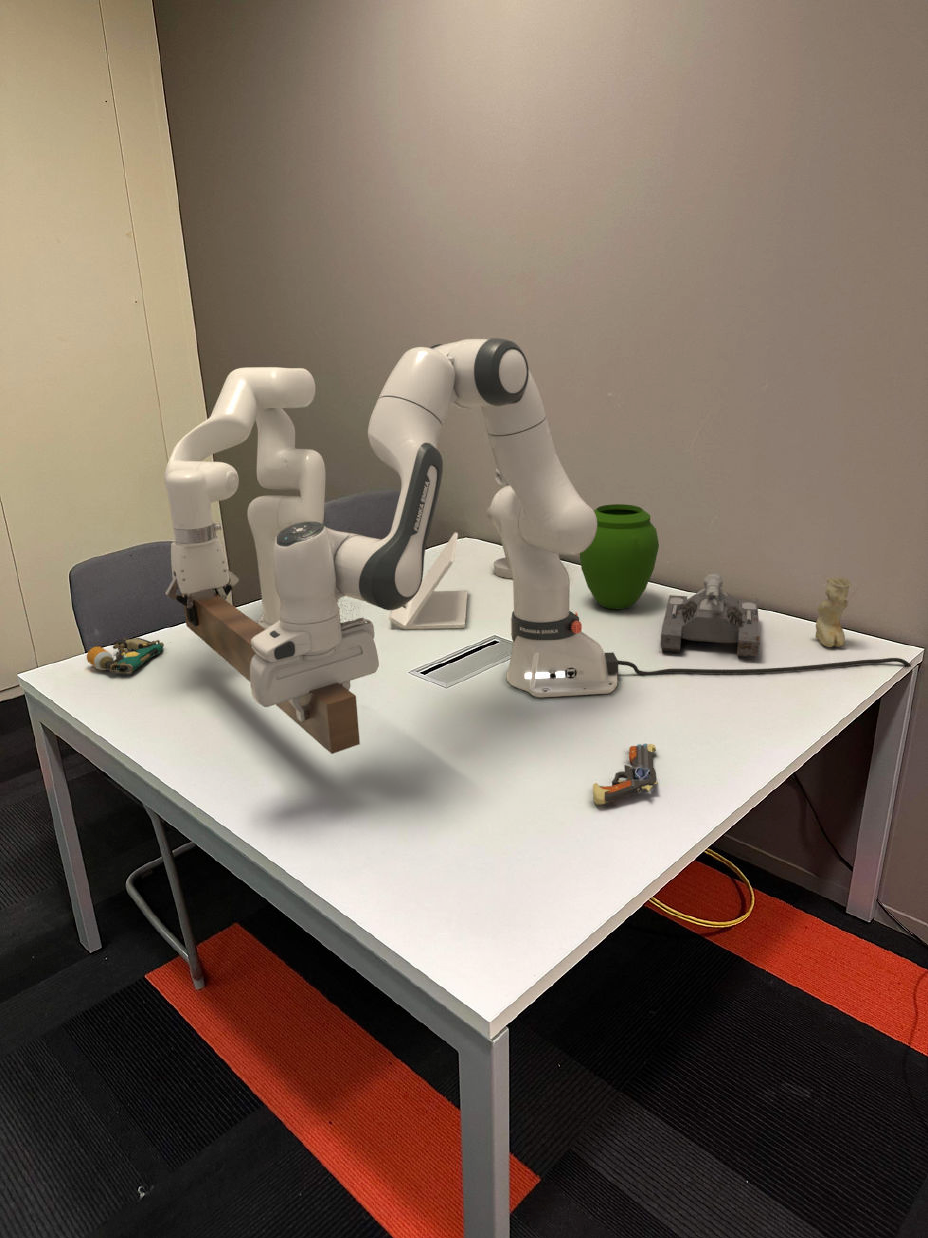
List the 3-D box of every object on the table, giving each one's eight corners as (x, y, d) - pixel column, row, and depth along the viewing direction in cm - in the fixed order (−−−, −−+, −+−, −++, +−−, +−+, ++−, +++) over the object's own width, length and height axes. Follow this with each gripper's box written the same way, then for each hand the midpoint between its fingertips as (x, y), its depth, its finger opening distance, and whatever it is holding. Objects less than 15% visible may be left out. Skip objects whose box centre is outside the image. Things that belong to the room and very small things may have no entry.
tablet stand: (467, 593, 225) (465, 531, 219) (465, 628, 202) (462, 559, 196) (399, 594, 226) (395, 532, 220) (388, 629, 203) (384, 560, 197)
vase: (599, 587, 227) (601, 497, 218) (668, 600, 216) (673, 505, 208) (562, 608, 212) (564, 513, 204) (634, 623, 202) (639, 523, 193)
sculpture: (821, 649, 184) (830, 583, 179) (808, 637, 191) (816, 573, 185) (848, 649, 184) (858, 582, 179) (834, 636, 191) (843, 572, 185)
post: (360, 744, 130) (356, 695, 127) (331, 754, 127) (326, 704, 124) (208, 620, 181) (203, 583, 178) (186, 626, 178) (180, 588, 175)
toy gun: (591, 793, 129) (658, 791, 127) (596, 741, 147) (655, 738, 145) (592, 809, 130) (660, 808, 128) (597, 755, 148) (656, 753, 146)
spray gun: (132, 646, 199) (182, 657, 193) (73, 669, 185) (125, 682, 179) (130, 628, 198) (180, 639, 192) (71, 650, 183) (123, 663, 177)
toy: (668, 614, 207) (671, 554, 201) (755, 620, 201) (761, 559, 196) (659, 654, 184) (663, 588, 179) (757, 663, 178) (764, 595, 173)
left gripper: (229, 522, 173) (241, 606, 180) (145, 538, 164) (160, 625, 171) (243, 530, 168) (255, 616, 174) (156, 546, 159) (172, 636, 165)
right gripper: (362, 609, 136) (370, 687, 141) (240, 642, 125) (252, 725, 130) (382, 620, 131) (389, 700, 136) (256, 655, 120) (269, 741, 126)
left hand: (208, 619), depth 173 cm, fingers closed on post, 4 cm apart
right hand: (321, 713), depth 133 cm, fingers closed on post, 5 cm apart
